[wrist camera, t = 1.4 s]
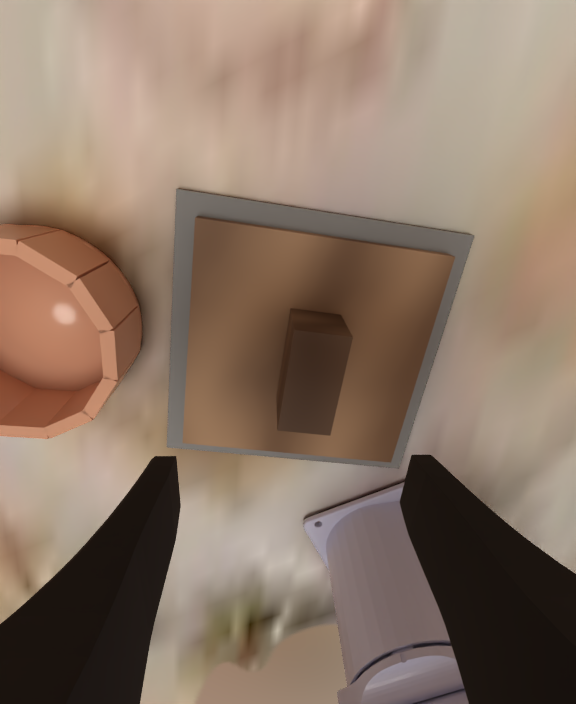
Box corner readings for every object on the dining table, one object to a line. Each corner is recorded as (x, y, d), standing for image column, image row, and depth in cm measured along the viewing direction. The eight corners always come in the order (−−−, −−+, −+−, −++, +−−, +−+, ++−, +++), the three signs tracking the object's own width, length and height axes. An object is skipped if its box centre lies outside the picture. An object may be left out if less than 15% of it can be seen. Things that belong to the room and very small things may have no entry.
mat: (470, 234, 19) (474, 235, 19) (397, 464, 25) (398, 468, 25) (178, 188, 18) (176, 188, 18) (168, 442, 23) (166, 447, 23)
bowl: (73, 190, 18) (23, 194, 14) (175, 355, 21) (156, 392, 18) (-86, 273, 19) (-170, 295, 15) (36, 417, 23) (-9, 463, 19)
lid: (448, 253, 19) (488, 270, 16) (387, 453, 24) (407, 500, 21) (198, 216, 18) (181, 225, 15) (185, 434, 23) (170, 481, 19)
